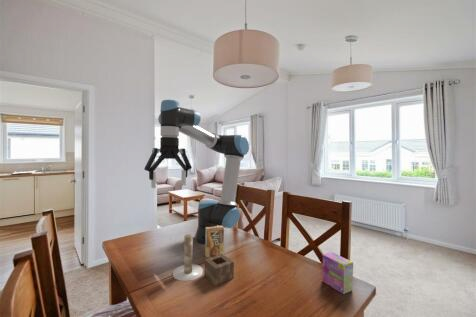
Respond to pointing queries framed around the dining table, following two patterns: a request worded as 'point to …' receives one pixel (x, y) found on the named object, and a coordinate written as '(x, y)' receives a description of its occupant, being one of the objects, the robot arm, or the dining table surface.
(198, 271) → the white plate
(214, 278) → the pen pot
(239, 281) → the dining table surface
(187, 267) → the dowel
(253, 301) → the dining table surface
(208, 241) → the candy box
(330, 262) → the box
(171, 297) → the dining table surface
